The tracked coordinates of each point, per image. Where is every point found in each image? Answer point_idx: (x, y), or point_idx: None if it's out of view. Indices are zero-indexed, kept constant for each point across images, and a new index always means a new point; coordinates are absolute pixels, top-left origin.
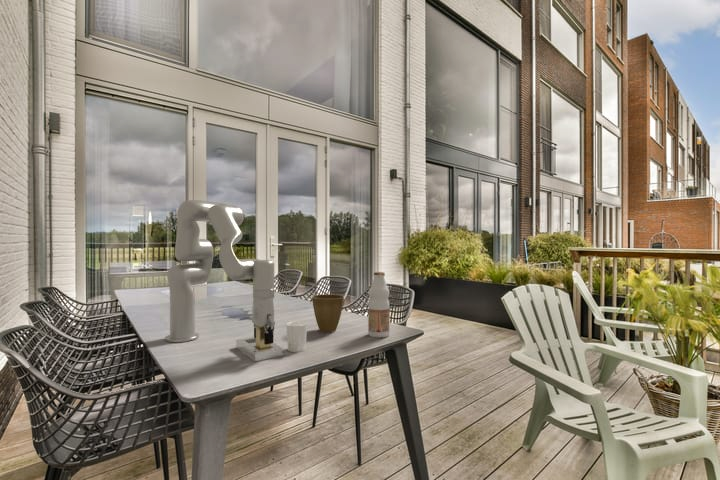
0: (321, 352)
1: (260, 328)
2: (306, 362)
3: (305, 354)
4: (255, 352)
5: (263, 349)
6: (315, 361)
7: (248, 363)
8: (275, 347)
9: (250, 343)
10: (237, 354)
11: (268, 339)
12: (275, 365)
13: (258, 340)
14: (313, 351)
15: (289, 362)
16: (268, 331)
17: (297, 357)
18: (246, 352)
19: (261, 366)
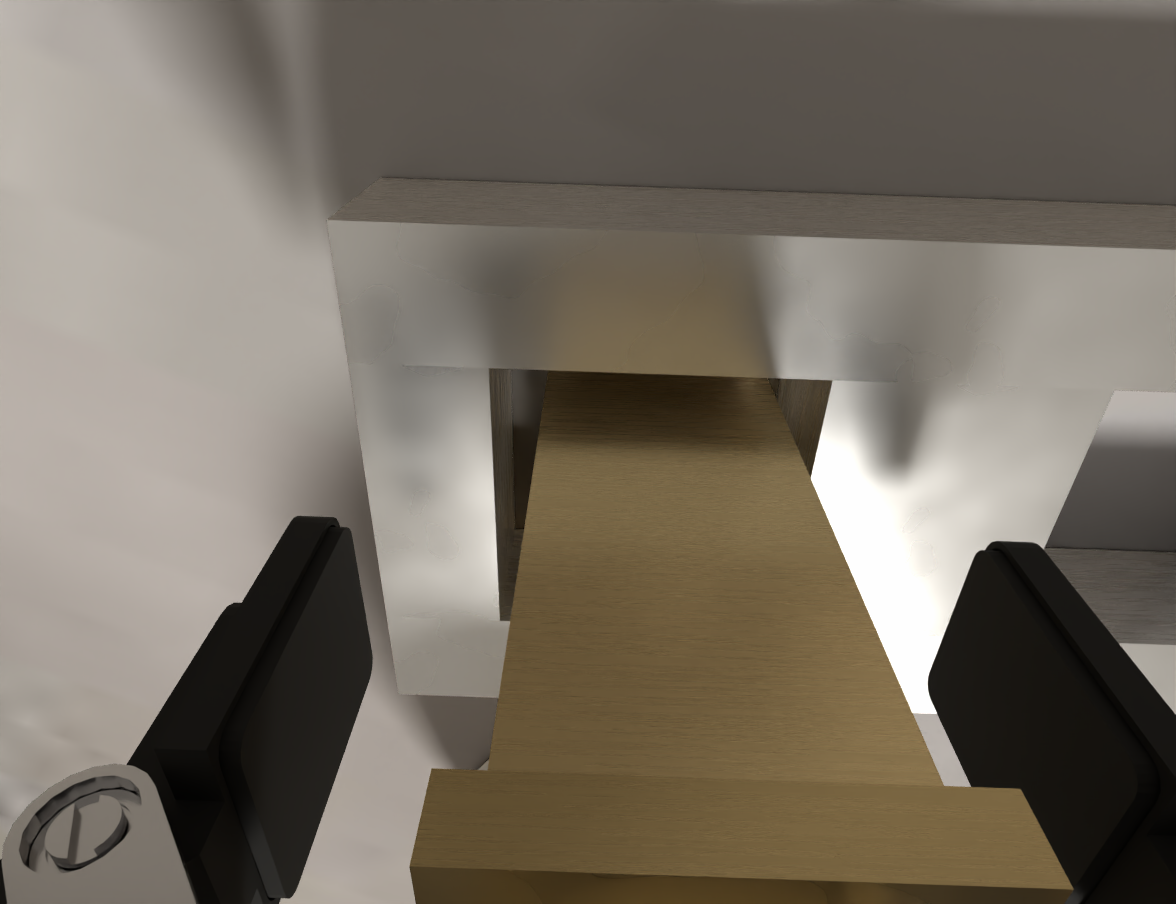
0: (320, 889)
1: (415, 857)
2: (35, 687)
3: (338, 784)
4: (356, 236)
5: (482, 451)
6: (39, 755)
7: (341, 13)
8: (474, 637)
9: (1083, 417)
10: (1065, 53)
11: (205, 652)
12: (37, 368)
13: (641, 511)
14: (396, 863)
15: (108, 559)
16: (2, 874)
17: None
18: (874, 207)
19: (59, 161)
